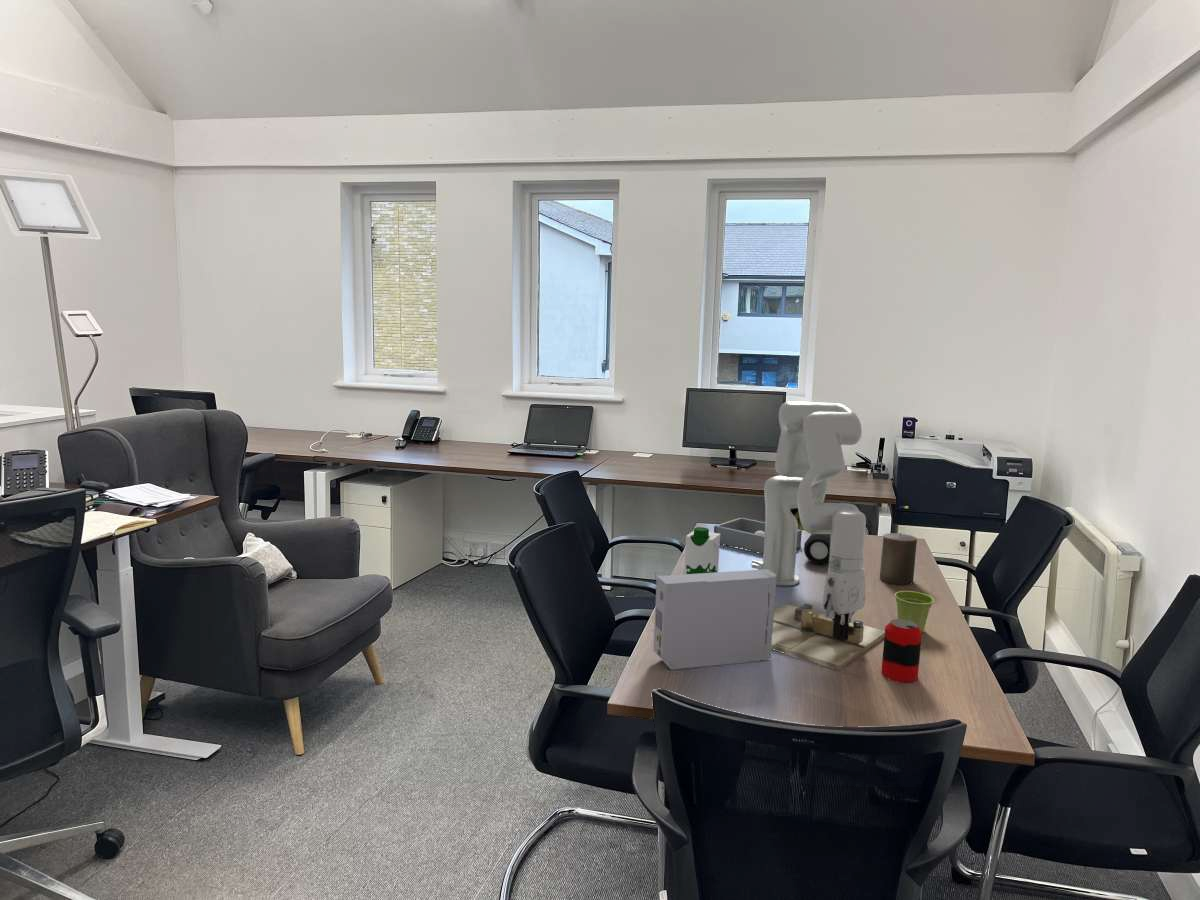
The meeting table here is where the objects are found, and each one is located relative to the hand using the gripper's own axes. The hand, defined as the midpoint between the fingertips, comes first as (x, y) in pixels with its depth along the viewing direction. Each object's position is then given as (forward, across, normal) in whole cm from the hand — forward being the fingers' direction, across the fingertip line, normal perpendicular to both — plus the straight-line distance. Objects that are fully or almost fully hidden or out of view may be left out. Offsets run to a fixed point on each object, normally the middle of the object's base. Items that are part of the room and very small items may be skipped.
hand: (840, 638), depth 192 cm
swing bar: (+1, +2, +5) cm, 5 cm away
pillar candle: (+2, +60, +26) cm, 65 cm away
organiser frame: (+1, +51, +75) cm, 91 cm away
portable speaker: (+1, +61, +54) cm, 82 cm away
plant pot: (+3, +27, -1) cm, 28 cm away
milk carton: (+2, -3, +45) cm, 45 cm away
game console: (+4, -29, +12) cm, 32 cm away
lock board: (+3, +1, +10) cm, 10 cm away
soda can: (+4, 0, -16) cm, 16 cm away
